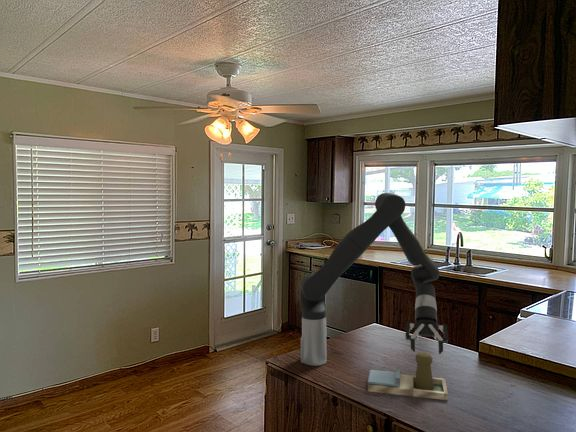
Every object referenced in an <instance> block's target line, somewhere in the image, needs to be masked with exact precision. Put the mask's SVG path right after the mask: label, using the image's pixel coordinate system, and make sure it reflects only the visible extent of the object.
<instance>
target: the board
mask: <svg viewBox="0 0 576 432" xmlns="http://www.w3.org/2000/svg"><path fill="white" fill-rule="evenodd" d="M415 377H416V375H413V374H412V375H409V374H403V373H402V374H401V378H400V387H398V386H388V385H379V384H369V383H368V382H367V392H369V393H370V392H371V393H379V394H390V395H396V396H397V395H398V396H407V397H416V398H424V399H433V400H434V399H435V400H442V401H448V400H449V399H448V398H449V394H448V393H449V392H448V388H447V384H446V383H447V382H446V379H445V378H443V377H433V376H432V379H433V386H434V389H433V390H431V391H430V390H421V389H416V388H415V387H414V385H415Z"/></svg>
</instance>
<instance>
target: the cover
mask: <svg viewBox="0 0 576 432" xmlns="http://www.w3.org/2000/svg"><path fill="white" fill-rule="evenodd" d="M401 367H402V366H399V365H397V366H396V371H390V370H389V371H388V370H387V371H386V370H379V369H378V370H377V369H370V370H369V375H368V379H367V384H368V383H369V384H379V385H388V386H398V387H400V378H401V369H402V368H401Z"/></svg>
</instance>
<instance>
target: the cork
mask: <svg viewBox="0 0 576 432" xmlns="http://www.w3.org/2000/svg"><path fill="white" fill-rule="evenodd" d="M415 362H416V363H417V364H416V372H415V376H416V377H415V385H414V387H415V388H416V389H421V390H430V391H431V390H433V389H434V386H433V379H432V377H433V373H432V363H433V356H432V355H431V354H430V353H428V352H423V351H421V352H420V351H419V352H417V353H416V354H415Z"/></svg>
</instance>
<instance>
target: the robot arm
mask: <svg viewBox="0 0 576 432" xmlns="http://www.w3.org/2000/svg"><path fill="white" fill-rule="evenodd" d="M374 207H375V211H374V213H373V214H372V215H371V216H370V217H369V218H368V219H366V220H365V221H364V222H362V223H360V224H359V225H357V226H356V227H354V228H353V229H351V230H350V231H349V232H348V233H346V235H345V236H344V237H342V239H341V240H340V241H339V242H338V243H337V244H336V246H335V247H334V249H333V250H332V252H331V254H330V255H329V256H328V259H326V261H325V263H324V264H323V265H322V266H321V267H320V268H319V269H318V270H317V271H316V272H315V273H314V272H313V273H307V274H305V275H304V276H303V277H302V279H301V280H300V310H301V337H300V363H301V364H305V365H308V366H316V367H317V366H323V365H325V364H326V363H327V359H328V357H327V308H326V302H325V300H326V299H325V296H326V294H327V293H328V292H329V291H330V289H331V288H332V287H333V285H335V283H336V282H337V280H338V279H339V278H340V277H341V276H342V275H343V274H344V273H345V272H346V271H347V270H348V269H350V267H352V265H353V264H354V263H355V262H357V260H358V259H359V258H360V257H361V256H362V255H363V254H364V253H365V252H366V251H367V250H368V248H369V247H370V246H371V245H372V244H373V243H374V242H375V241H376V240H377V239H378V237H380V236H381V234H382V233H383V232H384V231H385V230H386V229H387V228H389V229H390V231H391V232H392V234H393V236H394V237H395V239H396V241H397V243H398V244H399V246H400V249H401V250H402V252H403V254H404V255H405V258H406V260H407V261H408V262H409V263H410V264H411V265H416V266H414V267H412V269H411V272H410V275H411V279H412V282H413V284H414V288H415V305H414V310H415V311H414V319H415V321H414V323H412V322H410V321H406V323H405V325H406V326H405V340H406V341H410V350H411V351H412V352H413V353H414V352H416V340H417V339H418V338H419V337H420V336H421V337H428V338H432V337H433V338H434V340H436V341H437V343H438V354H439V355H441V354H442V353H444V344H448V342H449V333H448V332H449V331H448V325H447V324H445V323H443V324H442V325H439V324H438V314H437V313H438V309H437V301H436V288H435V286H434V285H433V284H431V283H429V282H435V281H436V280H438V279H439V278H440V274H441V273H440V269H439V267H438V266H437V264H436V263H435V262H434V261H433V260H432V259H431V258H430V257H429V256H428V255H427V254H426V252H425V251H424V248H423V247H422V245H421V243H420V241H419V239H418V238H417V236H416V235H415V234H414V232H413V231H412V230H411V228H409V226H408V225H407V224H406V221H405V220H404V219H403V217H402V215H403V214H404V212H405V209H406V201H405V199H404V197H402V196H401V195H398V194H396V193H392V192H384V193H381V194H379V195H378V196H377V197H376V199H375V202H374ZM413 328H414V332H413V334H412V335H410V332H411V330H413ZM439 330H440V331H441V333H443V337H442V336H441V335H440V333H439V332H438V331H439Z"/></svg>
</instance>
